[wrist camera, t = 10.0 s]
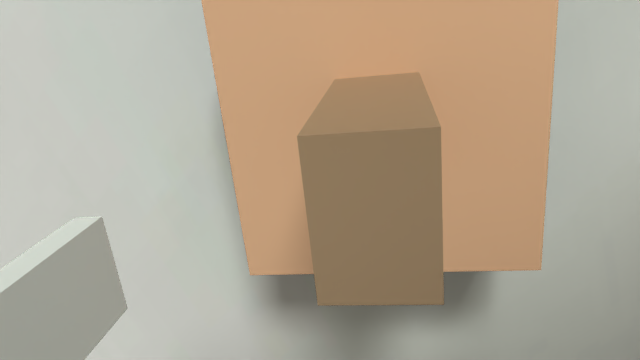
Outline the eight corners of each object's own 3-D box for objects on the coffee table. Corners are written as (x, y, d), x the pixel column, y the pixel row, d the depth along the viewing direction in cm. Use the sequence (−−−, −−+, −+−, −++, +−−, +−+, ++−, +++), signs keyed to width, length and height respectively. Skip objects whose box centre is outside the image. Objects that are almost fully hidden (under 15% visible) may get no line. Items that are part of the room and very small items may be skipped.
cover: (549, -62, 19) (724, -126, 9) (531, 253, 23) (633, 435, 14) (210, -20, 21) (55, -35, 11) (257, 260, 26) (177, 419, 16)
